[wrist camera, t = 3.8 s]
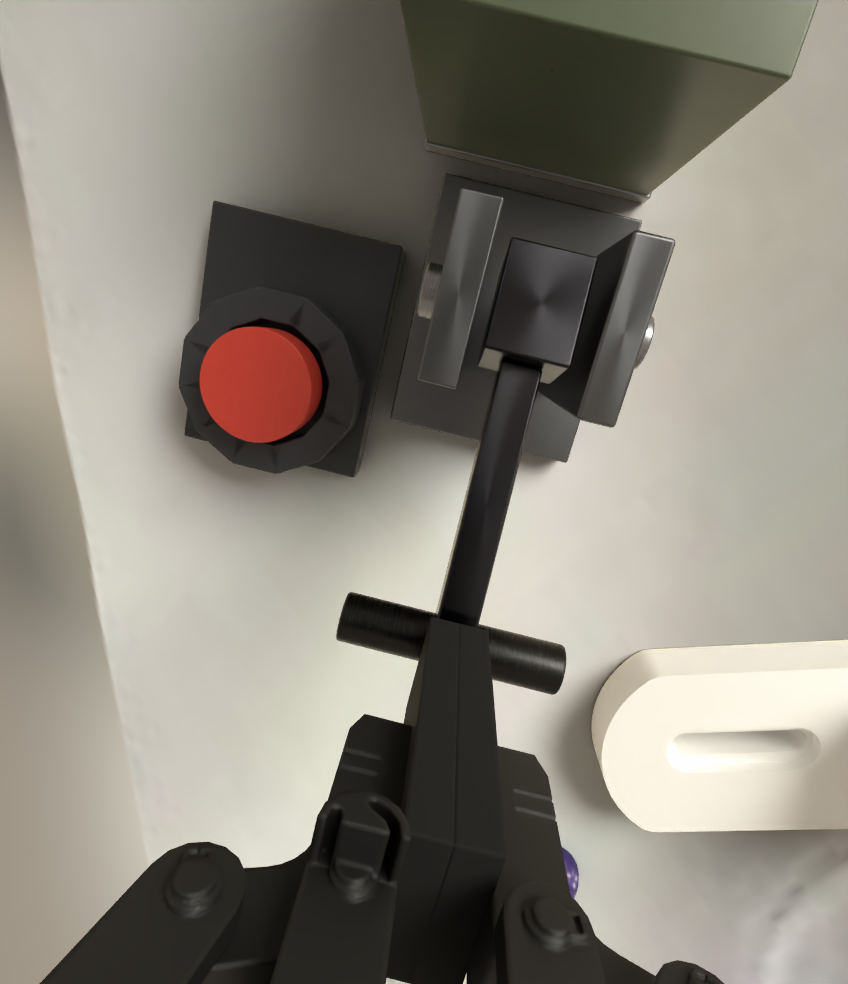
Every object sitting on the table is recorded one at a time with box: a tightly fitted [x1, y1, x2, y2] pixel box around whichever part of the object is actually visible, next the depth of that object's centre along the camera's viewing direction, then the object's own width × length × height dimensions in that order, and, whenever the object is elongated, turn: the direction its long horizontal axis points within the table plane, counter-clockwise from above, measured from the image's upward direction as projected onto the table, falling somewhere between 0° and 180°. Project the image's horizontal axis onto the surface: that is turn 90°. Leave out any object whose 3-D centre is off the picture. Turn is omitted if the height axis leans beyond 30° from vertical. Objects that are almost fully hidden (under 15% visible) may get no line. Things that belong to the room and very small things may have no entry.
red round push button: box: [200, 327, 322, 443], centre depth 23 cm, size 4×4×2 cm
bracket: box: [591, 640, 848, 832], centre depth 25 cm, size 20×9×7 cm, turn 96°
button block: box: [179, 201, 405, 477], centre depth 24 cm, size 10×8×3 cm
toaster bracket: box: [390, 173, 675, 463], centre depth 19 cm, size 10×8×12 cm
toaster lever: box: [336, 237, 598, 695], centre depth 15 cm, size 11×6×2 cm, turn 167°
